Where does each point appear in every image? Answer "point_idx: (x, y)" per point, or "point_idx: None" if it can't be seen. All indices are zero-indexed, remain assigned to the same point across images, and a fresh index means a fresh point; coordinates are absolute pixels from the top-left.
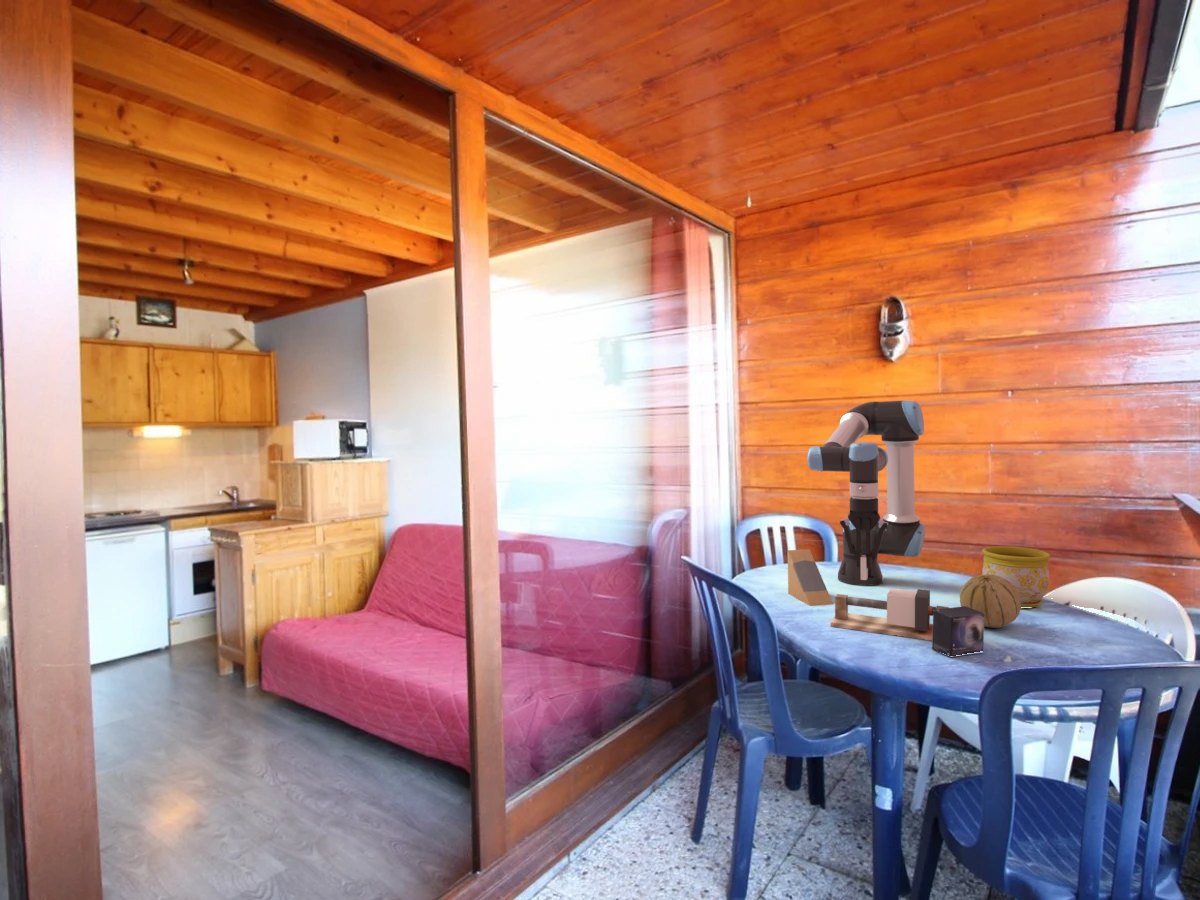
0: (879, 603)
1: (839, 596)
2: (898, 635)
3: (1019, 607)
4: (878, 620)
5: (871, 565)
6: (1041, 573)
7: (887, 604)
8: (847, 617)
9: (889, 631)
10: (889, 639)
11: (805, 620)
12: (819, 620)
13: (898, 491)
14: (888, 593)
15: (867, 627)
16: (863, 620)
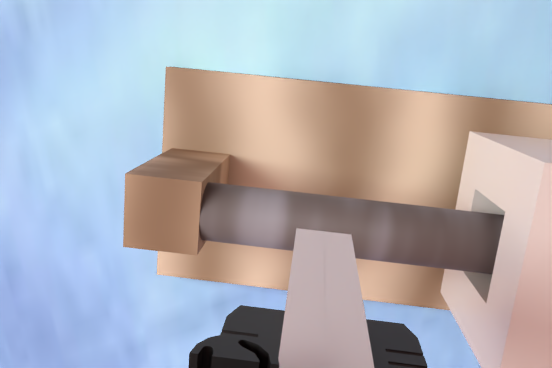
0: (421, 265)
1: (151, 235)
2: None
3: None
4: (394, 156)
5: (416, 347)
6: None
7: (476, 351)
8: (229, 165)
9: (444, 307)
10: (436, 362)
11: (34, 212)
12: (97, 187)
13: None
14: (510, 342)
15: None
16: (315, 184)
